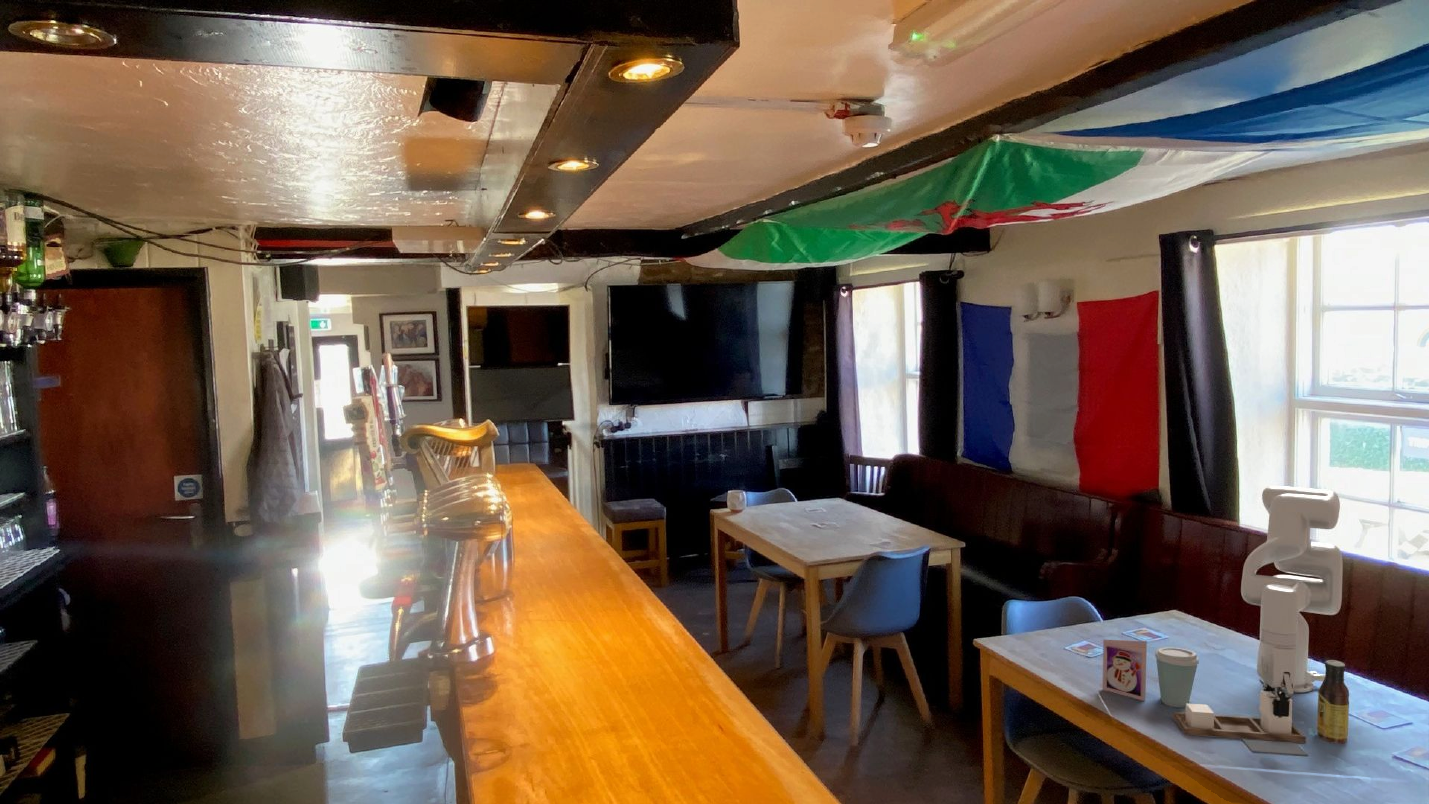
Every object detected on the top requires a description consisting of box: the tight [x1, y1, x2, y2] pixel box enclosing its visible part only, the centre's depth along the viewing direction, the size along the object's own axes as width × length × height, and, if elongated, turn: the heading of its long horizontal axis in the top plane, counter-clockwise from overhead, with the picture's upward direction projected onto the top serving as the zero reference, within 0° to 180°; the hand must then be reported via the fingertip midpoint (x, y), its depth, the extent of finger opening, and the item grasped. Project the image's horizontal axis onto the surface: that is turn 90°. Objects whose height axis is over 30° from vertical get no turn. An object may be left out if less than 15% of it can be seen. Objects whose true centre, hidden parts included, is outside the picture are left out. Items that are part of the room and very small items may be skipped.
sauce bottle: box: [1316, 659, 1350, 744], centre depth 213 cm, size 6×6×20 cm
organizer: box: [1172, 711, 1307, 744], centre depth 219 cm, size 27×10×2 cm, turn 78°
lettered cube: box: [1259, 690, 1293, 721], centre depth 208 cm, size 5×5×5 cm
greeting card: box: [1102, 639, 1148, 702], centre depth 242 cm, size 11×7×15 cm, turn 45°
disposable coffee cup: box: [1154, 646, 1200, 708], centre depth 235 cm, size 11×11×15 cm
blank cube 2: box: [1260, 711, 1293, 734], centre depth 217 cm, size 5×5×5 cm
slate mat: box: [1241, 738, 1309, 757], centre depth 209 cm, size 12×6×1 cm, turn 78°
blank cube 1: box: [1185, 703, 1215, 729], centre depth 220 cm, size 5×5×5 cm
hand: (1275, 709), depth 208 cm, fingers closed on lettered cube, 5 cm apart
